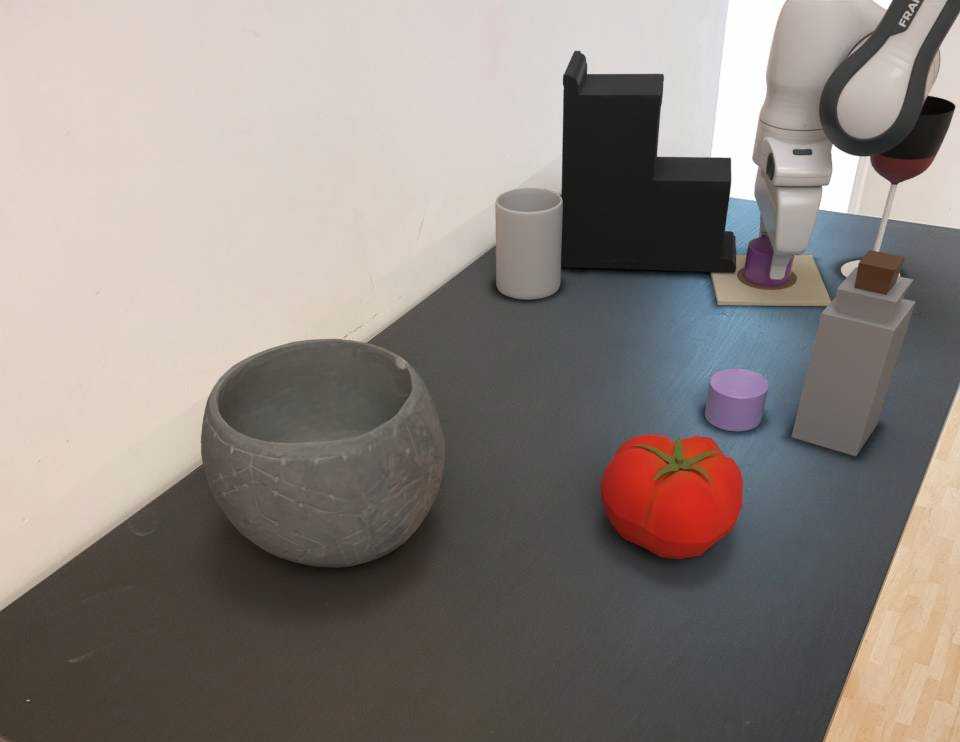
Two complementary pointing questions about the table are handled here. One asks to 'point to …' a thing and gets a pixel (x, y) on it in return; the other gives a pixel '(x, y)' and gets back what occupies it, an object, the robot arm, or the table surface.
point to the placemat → (772, 287)
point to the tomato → (672, 494)
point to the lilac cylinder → (736, 399)
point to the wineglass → (910, 156)
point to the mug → (528, 243)
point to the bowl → (323, 450)
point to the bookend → (635, 182)
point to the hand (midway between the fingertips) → (770, 261)
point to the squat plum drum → (762, 263)
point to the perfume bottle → (855, 355)
